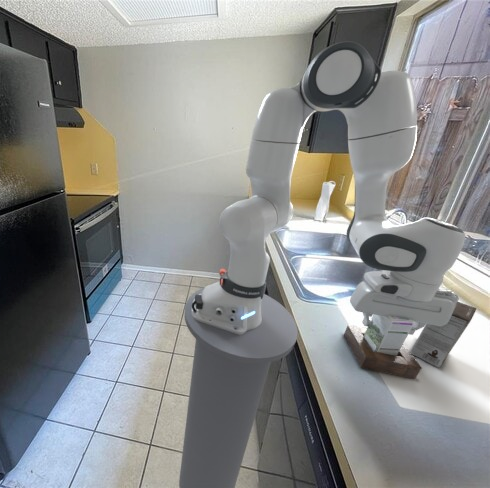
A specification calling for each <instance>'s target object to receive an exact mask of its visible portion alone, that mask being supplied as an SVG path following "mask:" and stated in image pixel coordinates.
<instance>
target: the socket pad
mask: <svg viewBox="0 0 490 488" xmlns="http://www.w3.org/2000/svg"><path fill="white" fill-rule="evenodd" d="M367 328H368V327H361V326H355V325H349V324H347V326H346V329H345V331H344V333H343V337H344V339H345V341H346V343H347V344H348V346H349V349H350V351H351V352H352V355H353V356H354V357H355V359H356V361H357V363H358V365H359V368H360V369H365V370H368V371H369V370H370V371H375V372H379V373H384V374H389V375H393V376H399V377H403V378H408V379H413V380H415V379H416V378H417V377H418V375H419V374H420V372H421V371H422V369H423V367H422V366H421V365H420V363H419V362H418V360H416V358H415V356H414V355H413V354H411V353H410V351H409V349H408V348H407V347H406V345H405V344H404V343H403V345H402V347H401V349H400V350H399V352H398V354H397V356H395V355H390V354H384V353H379V352H374V351H373V350H372V349H371V347H370V346H369V344H368V342H367V341H366V339H365V338H364V334H365V332H366V330H367Z"/></svg>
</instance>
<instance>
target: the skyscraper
mask: <svg viewBox="0 0 490 488" xmlns="http://www.w3.org/2000/svg"><path fill="white" fill-rule="evenodd" d="M321 186H322V187H321V193H320V197H319V200H318V202H317V205H316V209H315V213H314V219H313V220H314V222H315V221H316V222H321V223H326V221H327V217H328V213H329V210H330V204H331V203H330V199H331V195H332V193H333V192H334V190H335V187H336V182H335V181H333V180H330V181H324V182H323V183H322V185H321Z"/></svg>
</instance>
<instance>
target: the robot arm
mask: <svg viewBox="0 0 490 488" xmlns="http://www.w3.org/2000/svg"><path fill="white" fill-rule="evenodd" d="M414 87H415V86H414V83H413V79H412V77H411V75H410V74H409V73H408V72H405V71H403V70H387V71H382V68H381V67H380V66H379V65H378V64H377V63H376V61H375V60H374V59H373V57H372V56H371V54H370V53H369V52H368V51H367V49H366V48H365V47H364V46H363V45H361V44H360V43H358V42H354V41H348V40H347V41H345V40H344V41H340V42H336V43H333V44H331V45H329V46H327V47H326V48H323V50H321V51H319V52H318V53H317V54H316V55H315V57H314V58H313V59H312V60H311V61H310V63H309V64H308V66H307V68H306V70H305V72H304V74H303V76H302V77H301V79H300V81H299V82H298V83H297V84H295V85H294V86H290V87H289V86H288V87H287V86H286V87H280V88H276V89H273V90H271V91H270V92H269V93H267V94H266V95H265V96H264V98H263V99H262V101H261V104H260V107H259V109H258V112H257V115H256V119H255V122H254V125H253V129H252V134H251V138H250V143H249V149H248V156H247V161H246V166H245V173H246V176H247V177H248V179H249V181H250V197H249V198H245V199H241V200H238V201H236V202H234V203H232V204H230V205H229V206H227V207H226V208H224V209H223V210H222V211H221V214H220V216H219V221H218V222H219V223H218V224H219V229H220V232H221V233H222V235H223V237H225V240H228V243H229V251H230V255H229V264H228V270H226V269H225V268H220V269H219V274H218V275H219V281H216V282H213V283H210V284H208V285H205V287H203V288H204V290H203V291H202V293H201V294H199V295H195V299H194V301H193V303H192V309H191V312H192V316H193V318H194V319H195V320H197V321H200V322H203V323H206V324H209V325H212V326H215V327H217V328H220V329H223V330H226V331H229V332H232V333H235V334H238V335H242V334H244V333H245V332H246V331H248V330H251V329H254V328H257V327H258V326H259V325H260V324H261V322H262V317H261V301H262V299H263V295H264V294H266V293H265V292H266V288H267V281H266V279H267V275H268V271H269V267H270V263H271V257H270V255H269V253H268V252H267V251H266V243H267V238H268V236H269V235H271V234H273V233H276V232H277V231H280V230H282V229H283V228H284V227H285V226H287V225H288V224H289V222H290V221H291V220H292V218H293V216H294V207H293V204H292V201H291V187H292V186H291V184H292V177H293V171H294V166H295V163H296V159H297V154H298V151H299V147H300V143H301V140H302V135H303V131H304V128H305V126H306V123H307V121H308V120H309V118H310V117H311V116H312V115H315V114H319V113H324V112H331V111H335V110H337V111H339V112H341V113H342V114H343V115H344V117H345V120H346V124H347V145H348V146H347V147H348V155H349V156H348V157H349V161H350V165H351V166H350V167H351V170H352V175H353V180H354V209H353V216H352V218H351V221H350V223H349V224H348V227H347V229H346V239H347V241H348V243H349V245H350V246H351V247H352V248H353V250H354V251H355V253H356V254H357V256H358V257H359V259H360V260H361V261H362V263H363V264H365V265H366V266H367V267H369V268H372V269H374V270H373V271H371V270H370V271H366V272H365V273H364V274H363V279H364V280H363V281H361V282H359V283H358V284H357V285H356V287H355V288H354V290H353V292H352V294H351V297H350V299H349V303H350V305H351V306H352V308H353V309H354V311H356V312H357V313H362V316H363V319H362V321H361V322H362V325H363V326H364V327H367V328H368V327H372V325H373V323H374V322H373V321H372V320H371V319H372V317H373V314H375V315H380V316H394V317H402V318H407V319H411V320H413V321H415V323H414V325H413V327H412V329H411V330H410V332H409V334H408V335H411V336H413V335H414V334H415V332H416V331H418V330H420V329H423V328H424V327H425V325H426V324H430V325H435V326H443V325H446V324H447V323H448V321H449V320H450V318H451V316H452V313H453V311H454V306H455V305H456V303H457V302H459V299H460V298H459V295H458V294H456V293H455V292H454V291H453V290H447V289H446V290H444V289H440V287H441V286H442V284H443V282H444V278H445V277H444V276H445V275H446V273H447V272H448V271H449V270H450V269H451V268H452V267H453V266H454V264H455V262H456V261H457V259H458V257H459V256H460V254H461V252H462V249H463V248H464V246H465V245H464V244H465V242H466V233H465V232H464V231H463V230H462V229H461V228H459V227H458V226H457V225H455V224H452V223H449V222H448V221H444V220H441V219H438V218H434V217H422V218H421V219H419V220H416V221H413V222H409V223H404V224H399V225H393V224H392V223H391V222H390V220H389V219H388V217H387V214H386V203H387V201H386V200H387V190H388V189H387V187H388V183H389V180H390V178H391V177H392V176H393V175H394V174H395V173H397V172H398V171H399V170H401V169H402V168H404V167H405V166H406V165H407V164H408V163H409V162H410V160H411V159H412V156H413V154H414V150H415V147H416V142H417V135H418V133H417V132H418V108H417V107H418V106H417V99H416V92H415V88H414Z"/></svg>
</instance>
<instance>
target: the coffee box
mask: <svg viewBox="0 0 490 488" xmlns="http://www.w3.org/2000/svg"><path fill="white" fill-rule="evenodd" d="M476 312H477V307H474V306H472V305H468V304H466V303H464V302H461V301H458V302H457V303H456V305H455V306H454V311H453V313H452V316H451V318H450V320H449V321H448V323H447V324H446V325H443V326H435V325H430V324H426V325H425V326H424V327H422V330H421V332H420V334H419V335H418V337H417V339H416V341H415V342H414V344H413V346H412V348H411V349H410V351H409V352H410V353H411V355H412V356H414V357H416V358H419V359H420V360H423V361H424V362H426V363H428V364H430V365H432V366H434V367H436V368H438V369H439V368H440V367H442V364H443V363H444V361H445V360H446V358H447V357H448V355H449V354H450V353H451V351H452V349H453V348H454V347H455V345H456V344H457V342H458V341H459V339H460V338H461V336H462V335H463V333H464V332H465V331H466V329H467V327H468V326H469V324H470V323H471V321H472V319H473V318H474V316H475V313H476Z"/></svg>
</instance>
